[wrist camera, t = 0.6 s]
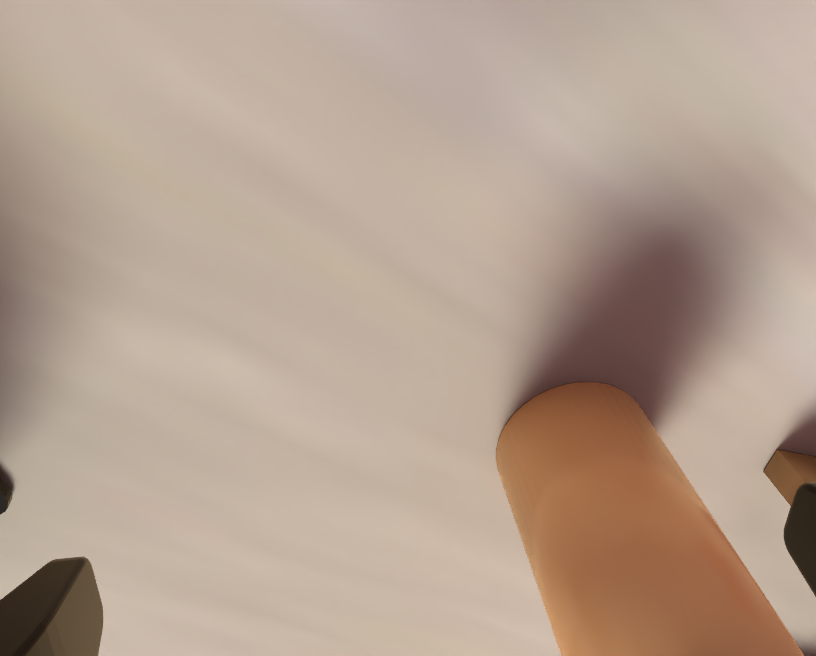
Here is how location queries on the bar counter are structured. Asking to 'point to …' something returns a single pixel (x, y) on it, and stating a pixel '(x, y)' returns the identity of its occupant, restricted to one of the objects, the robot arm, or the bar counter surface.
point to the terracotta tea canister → (625, 535)
